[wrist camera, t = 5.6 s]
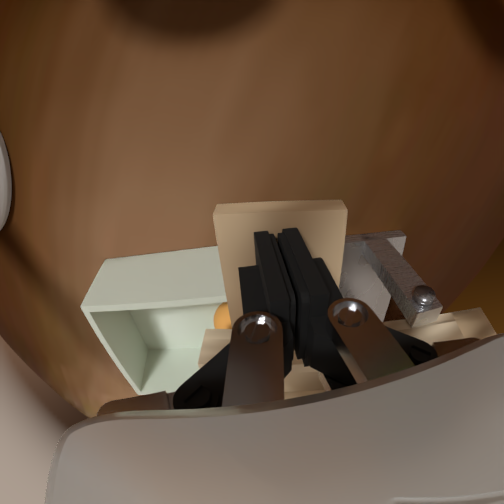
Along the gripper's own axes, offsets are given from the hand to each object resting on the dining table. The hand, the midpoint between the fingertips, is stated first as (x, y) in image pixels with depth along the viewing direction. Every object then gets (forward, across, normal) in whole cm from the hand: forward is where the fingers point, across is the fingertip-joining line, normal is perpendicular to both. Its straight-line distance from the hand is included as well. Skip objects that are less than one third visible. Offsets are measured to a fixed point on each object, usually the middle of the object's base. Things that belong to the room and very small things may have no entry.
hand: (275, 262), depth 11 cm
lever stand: (+8, -9, +9) cm, 15 cm away
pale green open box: (+8, +6, +9) cm, 14 cm away
